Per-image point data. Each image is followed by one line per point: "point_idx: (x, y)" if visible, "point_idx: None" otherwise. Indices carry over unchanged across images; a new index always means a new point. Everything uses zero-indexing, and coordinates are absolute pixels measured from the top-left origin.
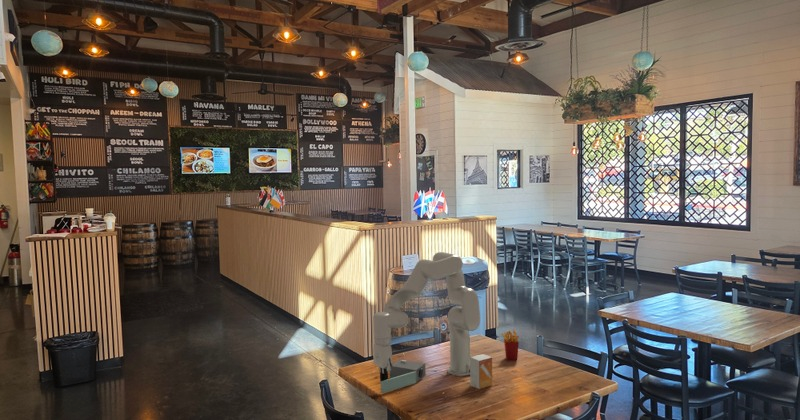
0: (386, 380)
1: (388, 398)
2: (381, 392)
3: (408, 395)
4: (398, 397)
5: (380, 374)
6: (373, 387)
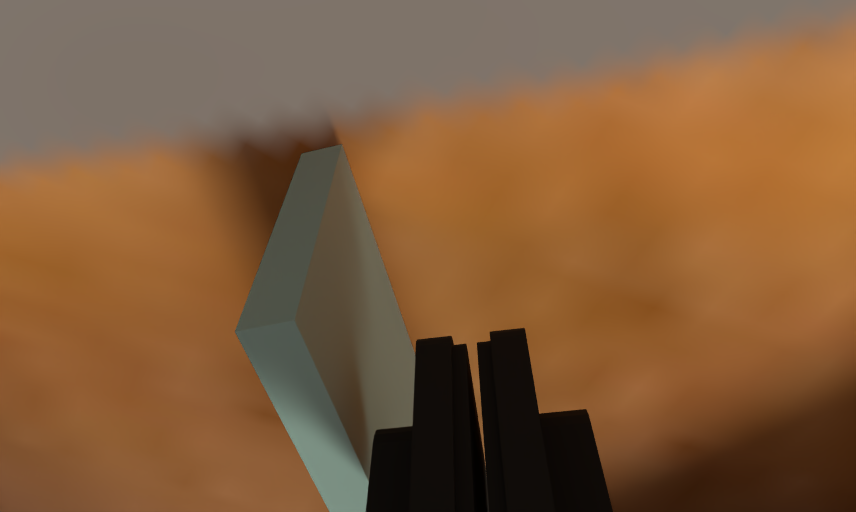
0: (303, 461)
1: (59, 186)
2: (322, 155)
3: (125, 477)
4: (74, 346)
5: (508, 510)
6: (792, 111)
